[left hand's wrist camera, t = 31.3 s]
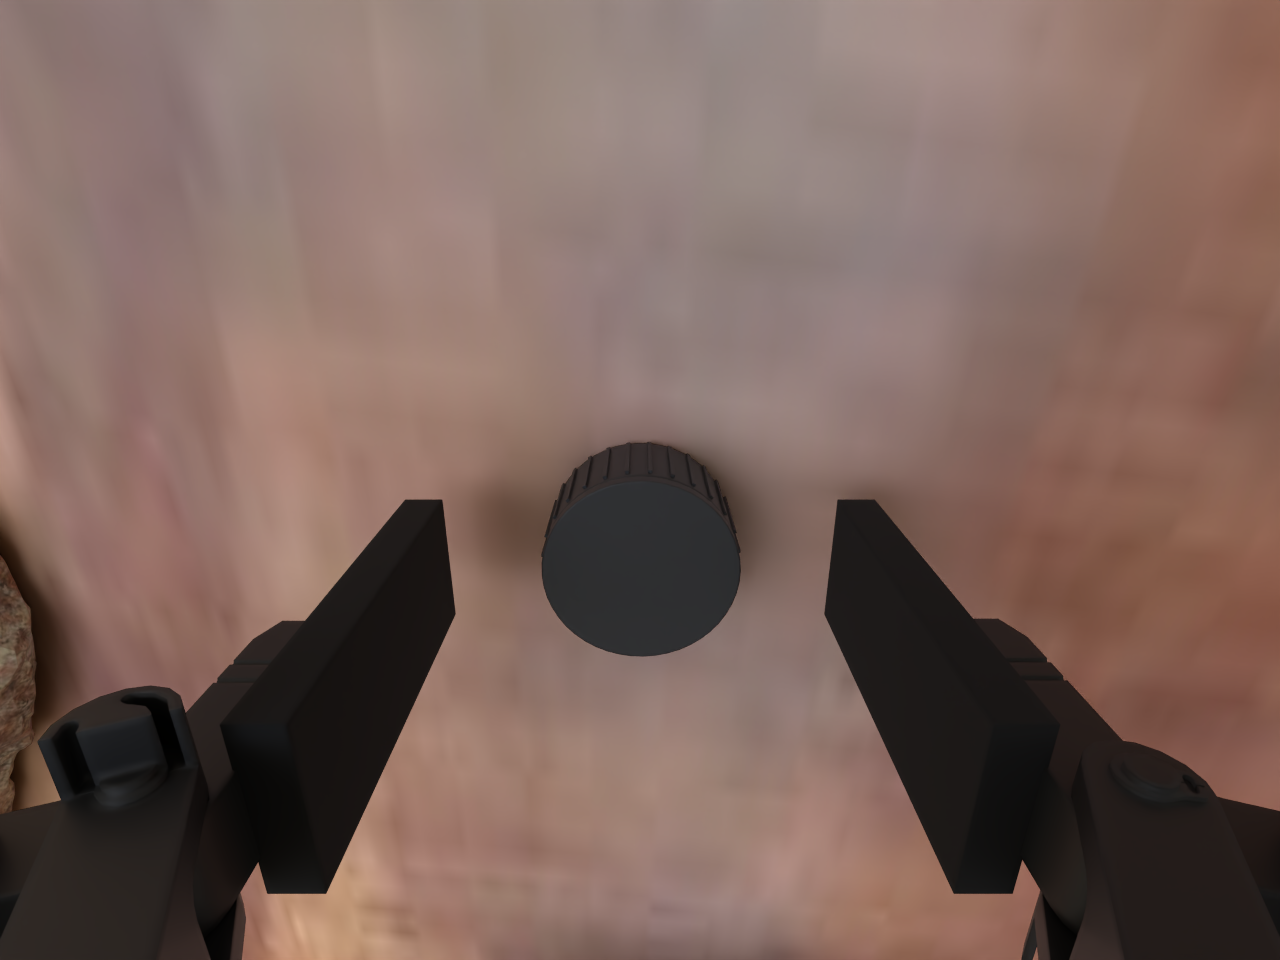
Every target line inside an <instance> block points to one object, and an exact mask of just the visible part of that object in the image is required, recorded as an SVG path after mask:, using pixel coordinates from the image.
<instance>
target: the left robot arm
mask: <svg viewBox="0 0 1280 960" xmlns="http://www.w3.org/2000/svg"><path fill="white" fill-rule="evenodd" d="M454 616H455V605H454V597H453V588H452V579H451V571H450V562H449V553H448V545H447V536H446V527H445V519H444V510H443V501H442V500H405V501H404V502H403V503H402V504H401V505H400V507H399V508H398V509H397V510H396V512H395V513H394V514H393V515H392V516H391V518H390V519H389V520H388V521H387V522H386V524H385V525H384V526H383V527H382V528H381V530H380V531H379V532H378V533H377V535H376V536H375V537H374V538H373V539H372V541H371V542H370V543H369V544H368V545H367V547H366V548H365V549H364V550H363V551H362V553H361V554H360V555H359V556H358V558H357V559H356V560H355V561H354V562H353V564H352V565H351V566H350V567H349V568H348V570H347V571H346V572H345V573H344V574H343V576H342V577H341V578H340V579H339V580H338V582H337V583H336V584H335V585H334V587H333V588H332V589H331V590H330V591H329V593H328V594H327V595H326V596H325V597H324V599H323V600H322V601H321V602H320V603H319V605H318V606H317V607H316V608H315V610H314V611H313V612H312V613H311V614H310V616H309V617H308V618H307V619H306V620H305V621H281V622H280V623H278V624H277V625H275V626H273V627H272V628H270V629H269V630H267V631H265V632H264V633H262V634H261V635H259V636H258V637H256V638H254V639H253V640H252V641H251V642H250V643H249V644H248V645H247V647H246V648H245V649H244V650H243V651H242V652H241V653H240V654H239V655H238V656H237V657H236V659H235V660H234V664H233V665H229V666H228V667H227V668H226V670H225V671H224V672H223V673H222V674H221V675H220V676H219V677H218V681H217V683H213V684H212V685H211V686H210V687H209V688H208V689H207V690H206V691H205V693H204V694H203V695H202V696H201V697H200V698H199V699H198V700H197V701H196V702H195V703H194V705H193V706H192V707H191V708H190V709H189V710H188V711H187V712H186V713H185V709H184V706H183V703H182V699H181V696H180V695H179V694H177V693H176V692H174V691H173V690H172V689H170V688H165V687H157V686H144V687H136V688H128V689H124V690H120V691H117V692H114V693H111V694H107V695H104V696H101V697H98V698H96V699H94V700H92V701H90V702H88V703H86V704H84V705H82V706H80V707H77V708H75V709H73V710H72V711H70V712H69V713H68V714H66V715H65V716H63V717H62V718H61V719H59V720H58V721H56V722H55V723H54V724H52V725H51V726H50V727H49V728H48V730H47V731H46V732H45V733H44V734H43V736H42V737H41V738H40V739H39V740H38V741H37V742H38V745H39V747H40V750H41V752H42V754H43V757H44V759H45V762H46V764H47V767H48V769H49V771H50V774H51V776H52V779H53V781H54V784H55V786H56V788H57V791H58V793H59V796H60V798H61V800H60V801H56V802H52V803H48V804H43V805H39V806H34V807H30V808H26V809H21V810H17V811H12V812H8V813H4V814H0V960H242V952H243V942H244V933H245V923H246V916H245V910H244V903H243V900H242V897H241V894H240V892H241V890H242V888H243V887H244V885H245V883H246V882H247V880H248V878H249V877H250V875H251V873H252V872H253V870H254V868H255V866H256V865H257V863H258V862H259V866H260V869H261V873H262V876H263V880H264V884H265V887H266V891H267V894H326V893H327V891H328V889H329V886H330V884H331V882H332V880H333V878H334V876H335V873H336V871H337V869H338V867H339V865H340V863H341V860H342V858H343V856H344V854H345V852H346V850H347V847H348V845H349V843H350V841H351V839H352V837H353V835H354V832H355V830H356V828H357V826H358V824H359V822H360V819H361V817H362V815H363V813H364V811H365V809H366V806H367V804H368V802H369V800H370V798H371V796H372V793H373V791H374V789H375V787H376V785H377V783H378V781H379V778H380V776H381V774H382V772H383V770H384V768H385V765H386V763H387V761H388V759H389V757H390V755H391V752H392V750H393V748H394V746H395V744H396V742H397V739H398V737H399V735H400V733H401V731H402V729H403V727H404V724H405V722H406V720H407V718H408V716H409V714H410V711H411V709H412V707H413V705H414V703H415V701H416V698H417V696H418V694H419V692H420V690H421V688H422V685H423V683H424V681H425V679H426V677H427V675H428V673H429V670H430V668H431V666H432V664H433V662H434V660H435V657H436V655H437V653H438V651H439V649H440V647H441V644H442V642H443V640H444V638H445V636H446V634H447V631H448V629H449V627H450V625H451V623H452V621H453V619H454ZM825 616H826V619H827V621H828V623H829V625H830V627H831V629H832V632H833V634H834V636H835V638H836V640H837V642H838V644H839V647H840V649H841V651H842V653H843V655H844V657H845V660H846V662H847V664H848V666H849V668H850V670H851V673H852V675H853V677H854V679H855V681H856V683H857V686H858V688H859V690H860V692H861V694H862V696H863V698H864V701H865V703H866V705H867V707H868V709H869V711H870V714H871V716H872V718H873V720H874V722H875V724H876V727H877V729H878V731H879V733H880V735H881V737H882V740H883V742H884V744H885V746H886V748H887V750H888V752H889V755H890V757H891V759H892V761H893V763H894V765H895V768H896V770H897V772H898V774H899V776H900V778H901V781H902V783H903V785H904V787H905V789H906V791H907V794H908V796H909V798H910V800H911V802H912V804H913V806H914V809H915V811H916V813H917V815H918V817H919V819H920V822H921V824H922V826H923V828H924V830H925V832H926V835H927V837H928V839H929V841H930V843H931V845H932V848H933V850H934V852H935V854H936V856H937V858H938V860H939V863H940V865H941V867H942V869H943V871H944V873H945V876H946V878H947V880H948V882H949V884H950V886H951V889H952V891H953V893H954V894H1013V891H1014V887H1015V883H1016V880H1017V876H1018V873H1019V869H1020V866H1021V862H1022V860H1023V861H1024V863H1025V865H1026V866H1027V868H1028V870H1029V871H1030V873H1031V875H1032V876H1033V878H1034V880H1035V882H1036V883H1037V885H1038V887H1039V888H1040V894H1039V897H1038V900H1037V903H1036V907H1035V910H1034V913H1033V917H1032V920H1031V923H1030V927H1029V930H1028V933H1027V936H1026V940H1025V943H1024V948H1023V954H1022V959H1021V960H1033V957H1034V954H1035V950H1036V947H1037V950H1038V959H1039V960H1280V811H1277V810H1272V809H1268V808H1263V807H1259V806H1254V805H1250V804H1246V803H1241V802H1237V801H1232V800H1228V799H1224V798H1220V797H1217V796H1216V795H1215V793H1214V792H1213V790H1212V789H1211V788H1210V786H1209V785H1208V783H1207V782H1206V781H1205V780H1203V779H1202V778H1201V777H1200V776H1199V775H1197V774H1196V773H1195V772H1194V771H1192V770H1191V769H1190V768H1189V767H1188V766H1186V765H1185V764H1183V763H1181V762H1179V761H1177V760H1176V759H1174V758H1172V757H1170V756H1168V755H1166V754H1165V753H1163V752H1161V751H1158V750H1155V749H1152V748H1149V747H1146V746H1143V745H1141V744H1138V743H1134V742H1127V741H1123V740H1122V739H1121V738H1120V737H1119V736H1118V735H1117V734H1116V733H1115V732H1114V731H1113V730H1112V729H1111V727H1110V726H1109V725H1108V724H1107V723H1106V722H1105V721H1104V720H1103V719H1102V718H1101V717H1100V715H1099V714H1098V713H1097V712H1096V711H1095V710H1094V709H1093V708H1092V707H1091V706H1090V705H1089V704H1088V702H1087V701H1086V700H1085V699H1084V698H1083V697H1082V696H1081V695H1080V694H1079V693H1078V692H1077V690H1076V689H1075V688H1074V687H1073V686H1072V685H1071V684H1070V683H1069V682H1068V681H1064V680H1063V675H1062V674H1061V673H1060V672H1059V671H1058V670H1057V669H1056V668H1055V667H1054V665H1053V664H1052V663H1051V662H1047V658H1046V657H1045V656H1044V655H1043V653H1042V652H1041V651H1040V650H1039V649H1038V648H1037V647H1036V646H1035V645H1034V644H1033V643H1032V642H1031V640H1030V639H1029V638H1028V637H1027V636H1025V635H1023V634H1022V633H1020V632H1019V631H1017V630H1015V629H1014V628H1012V627H1010V626H1009V625H1007V624H1006V623H1004V622H1002V621H1001V620H999V619H973V618H972V617H971V616H970V614H969V613H968V612H967V611H966V610H965V608H964V607H963V606H962V605H961V604H960V602H959V601H958V600H957V599H956V597H955V596H954V595H953V594H952V593H951V591H950V590H949V589H948V588H947V587H946V585H945V584H944V583H943V582H942V581H941V579H940V578H939V577H938V576H937V574H936V573H935V572H934V571H933V570H932V568H931V567H930V566H929V565H928V564H927V562H926V561H925V560H924V559H923V558H922V556H921V555H920V554H919V553H918V551H917V550H916V549H915V548H914V547H913V545H912V544H911V543H910V542H909V541H908V539H907V538H906V537H905V536H904V535H903V533H902V532H901V531H900V530H899V528H898V527H897V526H896V525H895V524H894V522H893V521H892V520H891V519H890V518H889V516H888V515H887V514H886V513H885V512H884V510H883V509H882V508H881V507H880V506H879V504H878V503H877V502H876V501H875V500H838V501H837V510H836V519H835V527H834V536H833V545H832V553H831V562H830V570H829V579H828V588H827V596H826V605H825Z"/></svg>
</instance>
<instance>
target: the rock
mask: <svg viewBox="0 0 1280 960" xmlns="http://www.w3.org/2000/svg"><path fill="white" fill-rule="evenodd" d="M36 665H37V662H36V661H35V651H34V643H33V636H32V633H31V608H30V607H29V606H28V605H27V604H26V603H25V601H24V600H23V598H22V596H21V594H20V592H19V590H18V587H17V585H16V583H15V581H14V579H13V577H12V575H11V573H10V571H9V569H8V567H7V565H6V562H5V561H4V559H3V558H2V557H1V555H0V814H4V813H8V812H12V804H13V799H14V796H15V787H14V782H13V781H12V780H11V779H10V778H9V777H10V775H11V772H12V770H13V768H14V764H13V761H14V759H15V757H16V755H17V753H18V752H19V751H20V750H22V749H25V748H26V747H27V746H29V745H30V744H31V743H32V741H33V738H34V736H35V733H34V731H33V729H32V723H31V716H32V715H33V713H34V701H35V697H36V688H35V677H34V676H35V670H36Z"/></svg>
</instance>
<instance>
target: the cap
mask: <svg viewBox="0 0 1280 960" xmlns="http://www.w3.org/2000/svg"><path fill="white" fill-rule="evenodd" d="M735 533H736V529H735V526H734V523H733V519H732V516H731V513H730V510H729V506H728V503H727V500H726V497H722V494H721V490H720V487H719V483H718V481H717V480H715V481H714V480H713V478H712V477H711V475H710V474H709V473H708V472H707V470H706V467H705V466H704V465H703V466H701V465H700V464H699V463H697V462H696V461H695V460H694V459H692V458H691V457H690V455H689V454H686V455H685V454H684V453H681V452H679V451H677V450H675V449H672V448H671V446H668V447H665V446H661V445H655V444H651V442H647V444H645V443H636V444H630V443H627V444H626V445H621V446H617V447H613V448H610V447H609V448H607V449H606V450H605V451H603V452H601V453H599V454H597V455H595V456H593V457H592V456H590V457H588V460H587V461H586V462H584V463H583V464H582V465H581V466H580V467H579V468H578V469H576V468H575V469H574V470H573V473H572V475H571V477H570V478H569V479H568V481H567V483H566V484H565V483H563V484H562V487H561V490H560V494H559V497H558V500H555V503H554V506H553V510H552V513H551V516H550V520H549V523H548V526H547V530H546V533H545V537H546V540H545V544H544V547H543V551H542V557H543V558H542V579H543V585H544V589H545V592H546V595H547V598H548V600H549V602H550V604H551V606H552V608H553V610H554V611H555V613H556V614H557V616H558V617H559V619H560V620H561V621H562V622H563V623H564V624H565V625H566V627H568V628H569V629H570V630H571V631H572V632H573V633H574V634H575V635H577V636H578V637H580V638H581V639H583V640H584V641H586V642H588V643H590V644H591V645H593V646H595V647H598V648H600V649H603V650H605V651H609V652H612V653H616V654H621V655H628V656H655V655H661V654H666V653H670V652H673V651H677V650H680V649H682V648H684V647H687V646H689V645H691V644H693V643H694V642H696V641H698V640H700V639H701V638H702V637H704V636H705V635H706V634H708V633H709V632H710V631H711V630H712V629H713V628H715V627H716V626H717V625H718V624H719V622H720V621H721V620H722V619H723V617H724V616H725V615H726V613H727V612H728V610H729V608H730V607H731V605H732V603H733V601H734V598H735V596H736V593H737V589H738V586H739V581H740V572H741V568H740V556H739V553H740V547H739V544H738V540H737V537H736V534H735Z"/></svg>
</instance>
